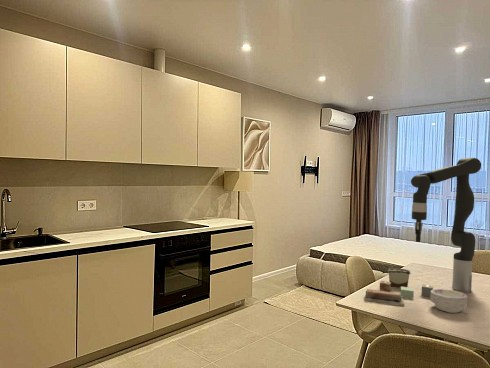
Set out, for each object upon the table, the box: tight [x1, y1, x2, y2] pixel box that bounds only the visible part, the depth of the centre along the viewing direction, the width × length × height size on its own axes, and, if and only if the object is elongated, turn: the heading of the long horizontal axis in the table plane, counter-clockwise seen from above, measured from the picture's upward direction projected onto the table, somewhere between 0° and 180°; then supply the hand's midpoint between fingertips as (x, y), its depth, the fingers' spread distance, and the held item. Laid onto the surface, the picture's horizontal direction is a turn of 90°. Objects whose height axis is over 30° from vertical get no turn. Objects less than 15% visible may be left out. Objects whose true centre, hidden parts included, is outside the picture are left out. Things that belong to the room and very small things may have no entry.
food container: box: [387, 267, 411, 289], centre depth 205 cm, size 12×6×10 cm, turn 84°
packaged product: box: [364, 288, 405, 307], centre depth 179 cm, size 18×5×10 cm
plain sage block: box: [400, 287, 415, 299], centre depth 188 cm, size 6×6×4 cm
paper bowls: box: [429, 288, 468, 314], centre depth 170 cm, size 15×15×8 cm
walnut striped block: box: [378, 280, 392, 292], centre depth 194 cm, size 5×5×5 cm
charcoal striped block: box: [421, 284, 434, 298], centre depth 190 cm, size 5×5×5 cm
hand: (418, 241), depth 199 cm, fingers closed
